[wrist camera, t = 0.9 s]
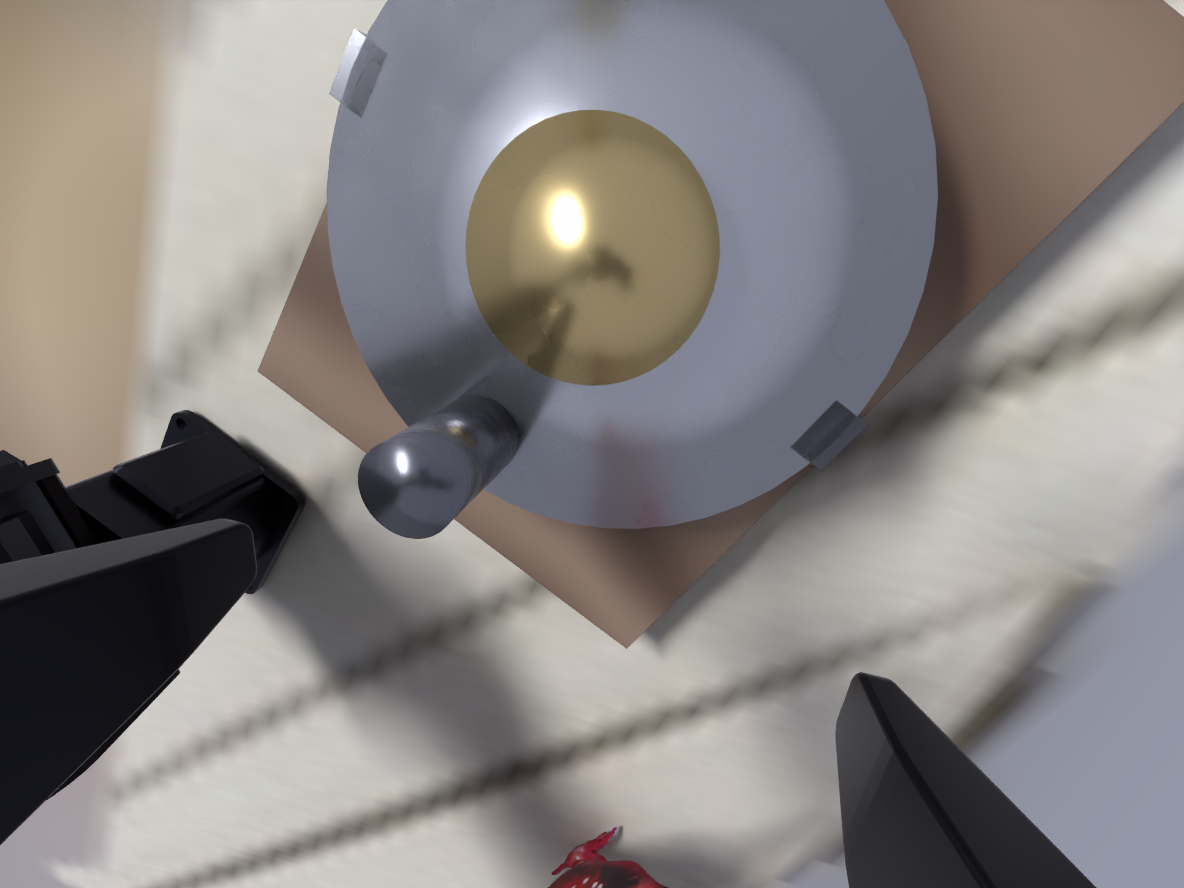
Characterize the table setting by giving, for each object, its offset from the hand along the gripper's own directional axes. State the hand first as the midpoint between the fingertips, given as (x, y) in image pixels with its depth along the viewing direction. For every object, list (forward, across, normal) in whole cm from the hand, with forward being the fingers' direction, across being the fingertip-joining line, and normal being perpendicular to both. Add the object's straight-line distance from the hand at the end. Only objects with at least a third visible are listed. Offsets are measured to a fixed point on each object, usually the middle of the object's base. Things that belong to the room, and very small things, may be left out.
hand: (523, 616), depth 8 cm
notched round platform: (+10, +1, -5) cm, 12 cm away
